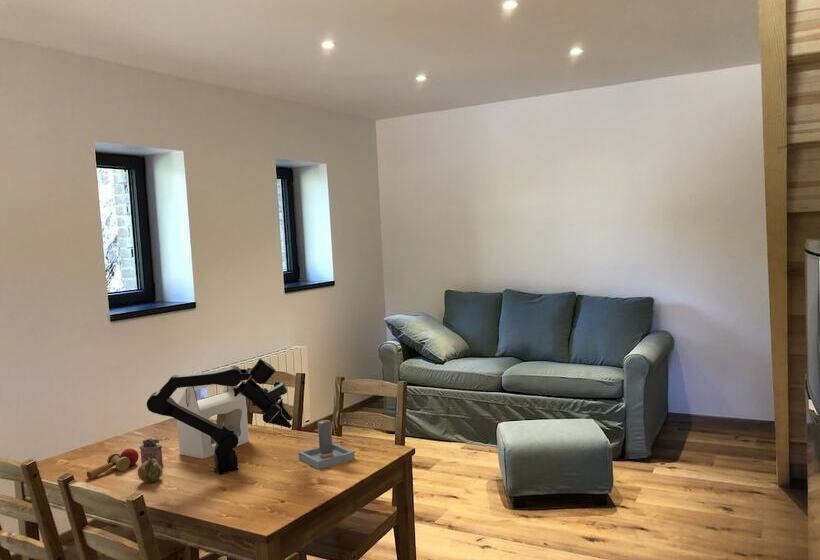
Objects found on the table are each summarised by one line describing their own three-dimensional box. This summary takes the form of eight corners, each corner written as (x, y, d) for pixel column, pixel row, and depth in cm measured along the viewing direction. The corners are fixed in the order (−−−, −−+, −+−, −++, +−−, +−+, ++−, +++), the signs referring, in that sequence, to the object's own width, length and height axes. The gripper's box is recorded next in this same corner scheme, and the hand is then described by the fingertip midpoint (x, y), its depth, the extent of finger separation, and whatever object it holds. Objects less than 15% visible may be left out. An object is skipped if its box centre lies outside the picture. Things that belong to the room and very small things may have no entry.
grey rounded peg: (329, 458, 227) (327, 424, 227) (317, 458, 229) (315, 423, 228) (335, 454, 232) (333, 420, 231) (323, 453, 233) (321, 419, 233)
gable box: (202, 459, 238) (196, 381, 236) (178, 454, 245) (172, 378, 243) (249, 441, 256) (244, 369, 254) (226, 437, 263) (220, 366, 261)
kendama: (98, 485, 221) (145, 461, 236) (92, 467, 221) (140, 444, 235) (86, 485, 226) (133, 461, 240) (80, 468, 225) (127, 445, 240)
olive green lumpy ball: (167, 476, 223) (166, 452, 222) (158, 485, 215) (155, 460, 214) (145, 476, 223) (143, 453, 222) (134, 486, 215) (132, 461, 214)
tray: (318, 469, 221) (317, 461, 220) (298, 459, 232) (298, 452, 232) (354, 459, 229) (354, 451, 229) (334, 449, 240) (333, 442, 240)
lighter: (139, 468, 232) (136, 440, 231) (145, 465, 235) (142, 437, 234) (159, 469, 230) (157, 440, 229) (165, 465, 233) (163, 437, 232)
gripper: (270, 381, 217) (307, 412, 219) (273, 370, 235) (307, 398, 238) (247, 408, 216) (284, 438, 219) (251, 394, 235) (285, 422, 237)
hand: (291, 423), depth 228 cm, fingers open, 9 cm apart
